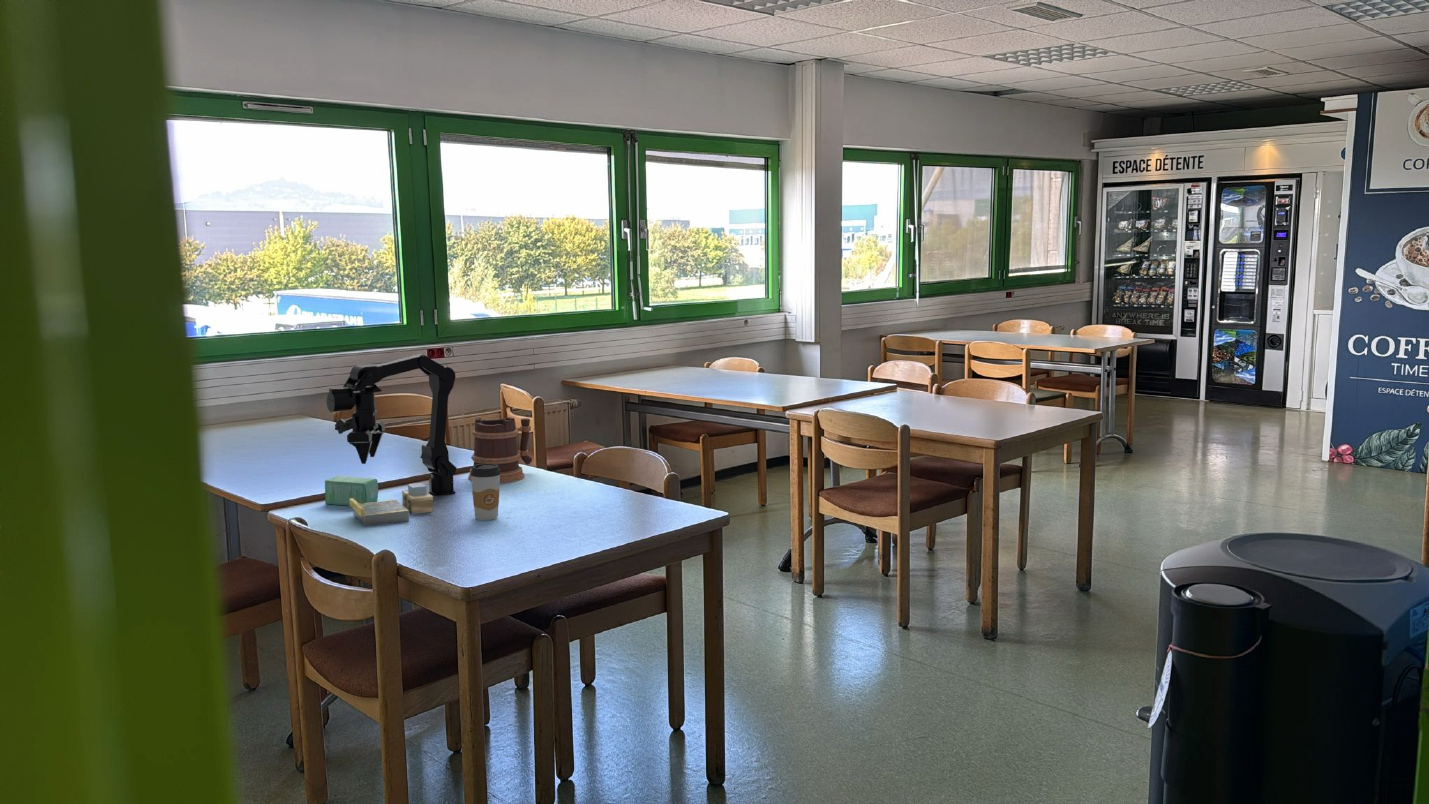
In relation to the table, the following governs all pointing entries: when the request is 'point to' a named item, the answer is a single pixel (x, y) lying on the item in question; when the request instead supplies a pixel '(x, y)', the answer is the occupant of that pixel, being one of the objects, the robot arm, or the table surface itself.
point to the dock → (379, 512)
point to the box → (350, 490)
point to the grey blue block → (417, 489)
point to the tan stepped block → (417, 502)
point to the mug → (501, 446)
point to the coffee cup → (485, 490)
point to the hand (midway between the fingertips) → (368, 460)
